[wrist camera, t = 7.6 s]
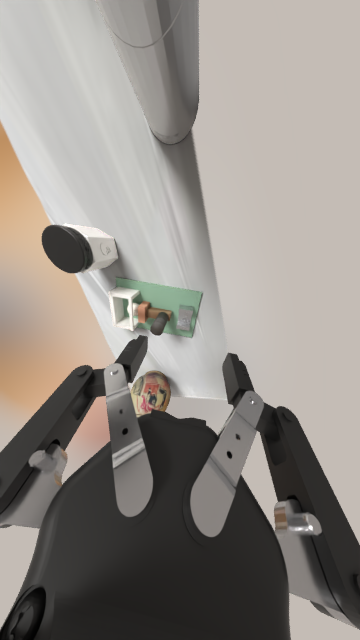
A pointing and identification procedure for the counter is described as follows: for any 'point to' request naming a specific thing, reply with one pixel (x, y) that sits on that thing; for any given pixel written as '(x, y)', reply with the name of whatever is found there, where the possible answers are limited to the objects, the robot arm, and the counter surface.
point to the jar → (78, 248)
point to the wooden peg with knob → (156, 313)
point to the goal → (117, 307)
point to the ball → (134, 309)
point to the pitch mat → (162, 303)
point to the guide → (184, 317)
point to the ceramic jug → (150, 393)
